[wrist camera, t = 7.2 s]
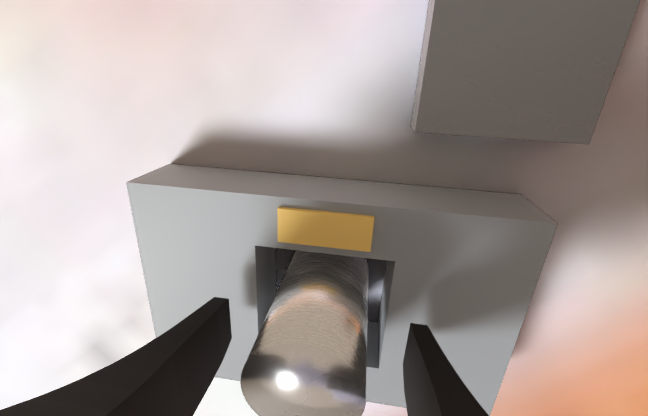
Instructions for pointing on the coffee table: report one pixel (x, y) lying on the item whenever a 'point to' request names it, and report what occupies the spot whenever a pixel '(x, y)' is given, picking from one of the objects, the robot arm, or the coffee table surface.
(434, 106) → the gray square base plate
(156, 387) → the robot arm
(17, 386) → the coffee table surface
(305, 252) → the metal peg
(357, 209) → the hole board
